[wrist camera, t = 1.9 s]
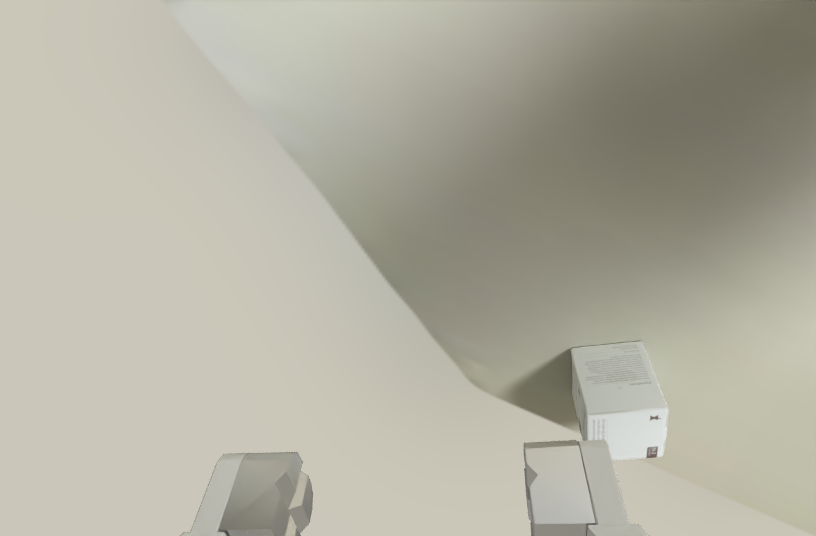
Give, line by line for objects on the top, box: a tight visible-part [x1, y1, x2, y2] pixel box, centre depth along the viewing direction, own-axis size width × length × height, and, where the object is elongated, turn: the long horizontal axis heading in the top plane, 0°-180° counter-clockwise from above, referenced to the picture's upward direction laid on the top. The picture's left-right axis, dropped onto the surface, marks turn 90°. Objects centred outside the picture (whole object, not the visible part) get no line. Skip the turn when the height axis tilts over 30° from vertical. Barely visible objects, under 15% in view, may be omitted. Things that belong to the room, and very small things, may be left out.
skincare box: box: [571, 341, 668, 461], centre depth 47 cm, size 6×6×7 cm
